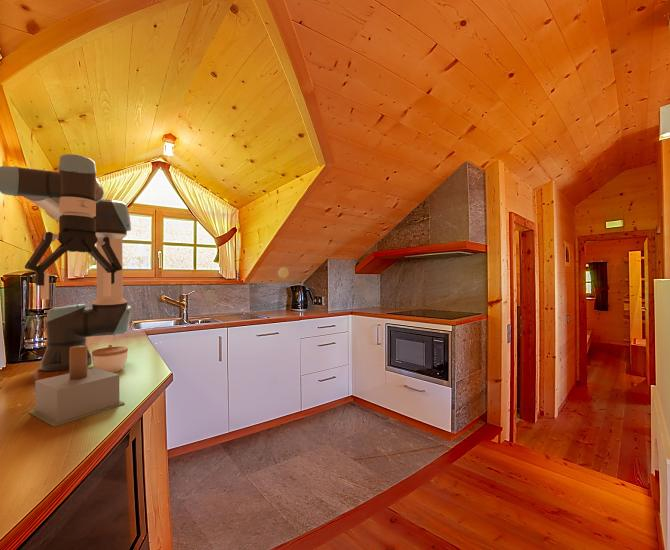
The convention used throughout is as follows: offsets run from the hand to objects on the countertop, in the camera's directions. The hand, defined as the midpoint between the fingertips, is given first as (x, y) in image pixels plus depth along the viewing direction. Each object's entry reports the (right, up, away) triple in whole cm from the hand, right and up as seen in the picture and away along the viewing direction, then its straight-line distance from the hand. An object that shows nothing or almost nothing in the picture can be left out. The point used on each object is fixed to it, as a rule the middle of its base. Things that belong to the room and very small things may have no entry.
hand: (78, 297), depth 84 cm
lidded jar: (-14, -29, +33) cm, 46 cm away
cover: (+1, -28, -1) cm, 28 cm away
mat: (+1, -29, -1) cm, 29 cm away
